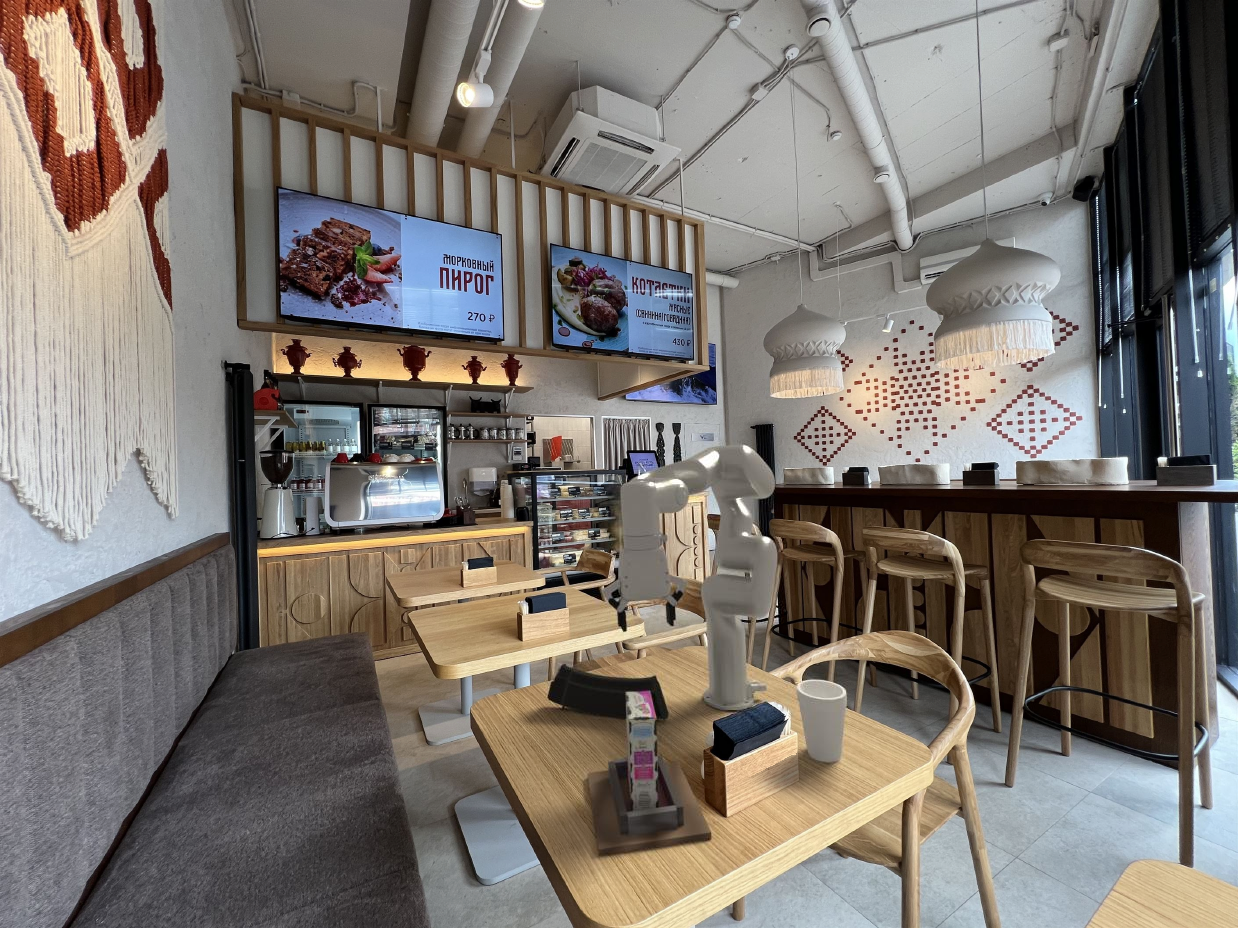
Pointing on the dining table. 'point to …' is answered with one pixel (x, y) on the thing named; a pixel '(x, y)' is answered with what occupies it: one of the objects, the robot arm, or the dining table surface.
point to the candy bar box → (642, 751)
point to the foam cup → (822, 718)
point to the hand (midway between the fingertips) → (647, 626)
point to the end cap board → (644, 827)
